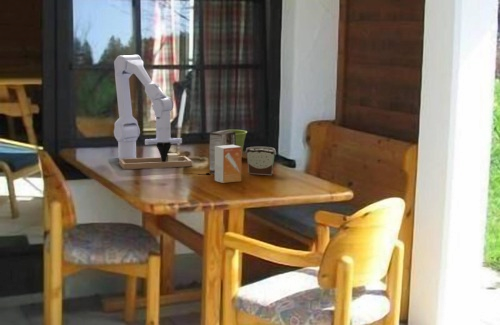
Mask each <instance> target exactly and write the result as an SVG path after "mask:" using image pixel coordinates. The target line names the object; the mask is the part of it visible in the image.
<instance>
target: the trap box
mask: <svg viewBox="0 0 500 325" xmlns="http://www.w3.org/2000/svg"><path fill="white" fill-rule="evenodd" d="M118 160H119V162H118V163H119V166H120V167H121V168H122V169H123V170H133V169H135V170H136V169H159V168H176V167H177V168H178V167H192V166H193V164H192V163H193V160H192V159H190V158H189V157H187V156H186V155H180V156H179V155H178V161H169V162H167V158H166V162H162V160H161V156H159V157H158V156H155V157H136V158H128V159H119V158H118Z"/></svg>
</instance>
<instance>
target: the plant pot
mask: <svg viewBox="0 0 500 325" xmlns="http://www.w3.org/2000/svg"><path fill="white" fill-rule="evenodd" d="M226 130H227V131H233V132H235V137H236V146H240V147H242V153H243V150H244V147H245V146H244V145H245V139H246V137H247V136H246V135H247V133H248V131H247V130H242V129H226ZM242 156H243V155H242ZM242 156H241V158H242Z"/></svg>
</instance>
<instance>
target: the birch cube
mask: <svg viewBox="0 0 500 325" xmlns="http://www.w3.org/2000/svg"><path fill="white" fill-rule="evenodd" d="M178 156H179V154H178V153H177V152H174V153H169V152H168V154H167V162H169V161H178Z"/></svg>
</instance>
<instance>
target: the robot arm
mask: <svg viewBox="0 0 500 325" xmlns="http://www.w3.org/2000/svg"><path fill="white" fill-rule="evenodd" d="M113 64H114V77H115V78H114V79H115V80H114V81H115V88H116V89H115V90H116V98H117V100H116V101H117V108H118V109H117V110H118V117H119V118H117V120H116V121H115V122H114V124H113V125H114V129H113V135H114V138H115V139H116V142H117V143H118V144H117V146H118V147H117V149H118V153H117V156H118V160H119V159H128V158H137V140H138V138H139V137H140V134H141V130H140V126H139V123H138V120H137V118H135V117H134V116H133V108H132V99H131V98H132V97H131V89H130V88H131V86H130V77H131V76H132V75H135V76H136V78H137V79H138V80H139V81H140V83H141V84H142V85H143V86H144V93H145V94H146V95H147V97H148V98H149V99H150V101H151V102H152V110H153V111H154V112H153V113H154V117H155V138H149V139H148V138H146V139H144V145H146V146H148V145H156V148H157V149H158V152H159V157H161V160H162V162H166V158H167V154H168V153H169V151H170V149H171V148H172V145H171V144H183V138H182V137H171V131H172V130H171V127H172V126H171V125H172V124H171V112H172V111H173V108H174V101H173V99H172V97H170V96H167V95H166V94H165V93H164V92H163V90H162V88H160V85H159V84H158V83H156V82H154V81H152V79H151V77H150V75H149V74H148V72H147V70H146V69H145V67H144V61H143V59H142V57H141V56H140V55H139V54H131V55H121V54H120V55H118V56H117V57H116V58H115V59H114V61H113Z"/></svg>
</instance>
